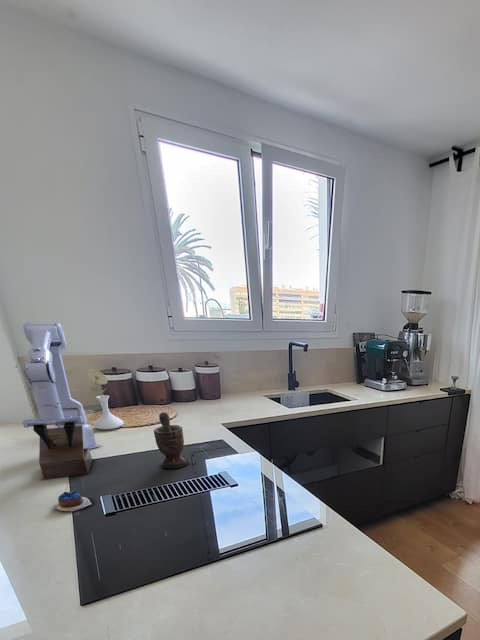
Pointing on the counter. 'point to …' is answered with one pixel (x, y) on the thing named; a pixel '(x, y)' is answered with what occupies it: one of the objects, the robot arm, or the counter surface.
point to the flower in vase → (103, 404)
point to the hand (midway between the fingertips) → (61, 446)
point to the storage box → (67, 467)
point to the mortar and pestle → (170, 442)
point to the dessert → (72, 501)
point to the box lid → (62, 447)
